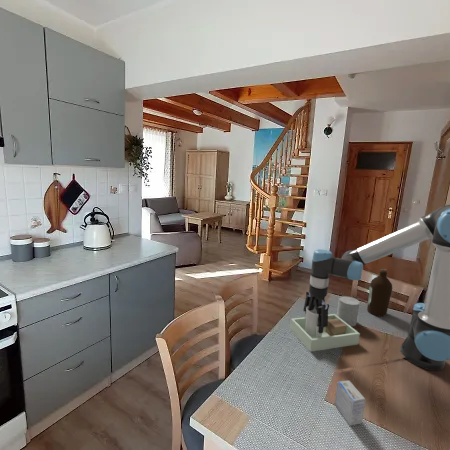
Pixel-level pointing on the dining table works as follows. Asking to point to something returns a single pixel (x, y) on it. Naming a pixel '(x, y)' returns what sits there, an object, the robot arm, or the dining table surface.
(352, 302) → the white can
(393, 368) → the dining table surface
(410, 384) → the dining table surface
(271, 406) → the dining table surface
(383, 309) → the olive oil
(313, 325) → the cup
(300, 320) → the tote
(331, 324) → the walnut block
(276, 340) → the dining table surface
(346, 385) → the medicine box
